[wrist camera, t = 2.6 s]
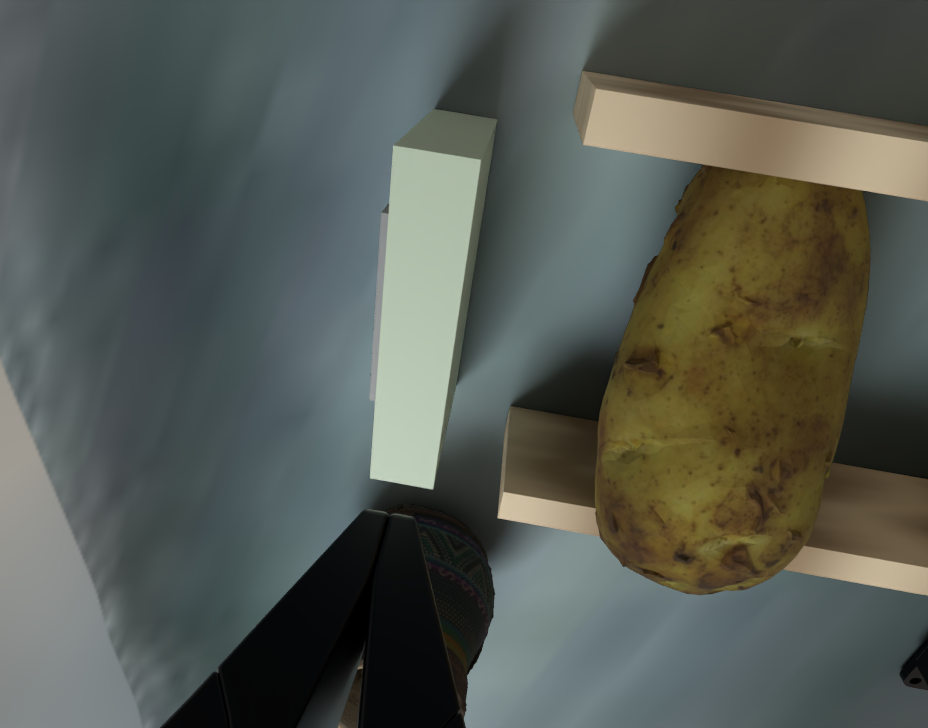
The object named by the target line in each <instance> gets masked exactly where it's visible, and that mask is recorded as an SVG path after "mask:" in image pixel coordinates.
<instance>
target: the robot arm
mask: <svg viewBox="0 0 928 728" xmlns="http://www.w3.org/2000/svg"><path fill="white" fill-rule="evenodd" d="M364 646H365V650H364ZM363 650H364V660H363V670H362V680H361V691H360V701H359V711H358V722H357V728H466V727H465V722H464V718H463V715H462V714H461V713H460V711H461V707H460V703H459V699H458V694H457V690H456V686H455V682H454V678H453V673H452V669H451V665H450V661H449V657H448V653H447V648H446V644H445V640H444V636H443V632H442V628H441V623H440V619H439V615H438V611H437V607H436V602H435V598H434V594H433V590H432V586H431V582H430V577H429V573H428V569H427V565H426V561H425V556H424V552H423V548H422V544H421V540H420V536H419V531H418V527H417V523H416V520H415V518H414V517H412V516H406V515H400V514H391V515H390V517H389V515H388V513H387V512H383V511H377V510H371V509H366V510H363V511H362V512H361V513H360V514H359V515H358V516H357V517H356V518H355V520H354V521H353V522H352V523H351V524H350V525H349V526H348V527H347V528H346V529H345V530H344V531H343V533H342V534H341V535H340V536H339V537H338V538H337V539H336V540H335V541H334V542H333V543H332V544H331V545H330V547H329V548H328V549H327V550H326V551H325V552H324V553H323V554H322V555H321V556H320V557H319V558H318V560H317V561H316V562H315V563H314V564H313V565H312V566H311V567H310V568H309V569H308V570H307V571H306V573H305V574H304V575H303V576H302V577H301V578H300V579H299V580H298V581H297V582H296V583H295V584H294V585H293V587H292V588H291V589H290V590H289V591H288V592H287V593H286V594H285V595H284V596H283V597H282V598H281V600H280V601H279V602H278V603H277V604H276V605H275V606H274V607H273V608H272V609H271V610H270V611H269V612H268V614H267V615H266V616H265V617H264V618H263V619H262V620H261V621H260V622H259V623H258V624H257V625H256V627H255V628H254V629H253V630H252V631H251V632H250V633H249V634H248V635H247V636H246V637H245V638H244V639H243V641H242V642H241V643H240V644H239V645H238V646H237V647H236V648H235V649H234V650H233V651H232V652H231V654H230V655H229V656H228V657H227V658H226V659H225V660H224V661H223V662H222V663H221V664H220V665H219V667H218V668H217V672H218V673H217V672H213V673H212V674H211V675H210V676H209V677H208V678H207V679H206V680H205V681H204V682H203V683H202V685H201V686H200V687H199V688H198V689H197V690H196V691H195V692H194V693H193V694H192V695H191V696H190V697H189V698H188V699H187V700H186V701H185V702H184V704H183V705H182V706H181V707H180V708H179V709H178V710H177V711H176V712H175V713H174V714H173V715H172V716H171V717H170V718H169V719H168V720H167V721H166V722H165V723H164V724H163V725H162V726H161V727H160V728H338V725H339V722H340V719H341V716H342V713H343V710H344V707H345V704H346V701H347V699H348V696H349V693H350V690H351V687H352V684H353V681H354V678H355V675H356V672H357V669H358V666H359V663H360V660H361V657H362V654H363ZM900 677H901V679H902V681H903V682H904V684H905V685H906V686H909V687H913V688H918V689H924V690H928V641H927V642H926V643H925V644H924V645H923V647H922V648H921V649H920V650H919V651H918V652H917V653H916V655H915V656H914V657H913V658H912V659H911V660H910V661H909V662H908V664H907V665H906V666H905V667H904V668H903V669H902V670H901V672H900Z"/></svg>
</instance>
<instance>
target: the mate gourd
mask: <svg viewBox="0 0 928 728" xmlns="http://www.w3.org/2000/svg"><path fill="white" fill-rule="evenodd" d="M386 512H387V513H388V515H389V517H390V515H391V514H400V515H406V516H412V517H414V518H415V520H416V523H417V527H418V531H419V536H420V540H421V544H422V548H423V552H424V556H425V561H426V565H427V569H428V573H429V577H430V582H431V586H432V590H433V594H434V598H435V602H436V607H437V611H438V615H439V619H440V623H441V628H442V632H443V636H444V640H445V644H446V648H447V653H448V657H449V661H450V665H451V669H452V673H453V678H454V682H455V686H456V690H457V694H458V699H459V703H460V707H461V711H460V713H461V714H462V715H463V718H464V716H465V711H466V695H467V688H468V686H467V685H468V682H467V681H468V680H467V675H468V674H469V672H470V670H471V669H472V668H473V666H474V664H475V663H476V662H477V659H478V658H479V655H480V653H481V651H482V647H483V643H484V640H485V638H486V636H487V634H488V628H489V626H490V623H491V620H492V618H493V616H494V615H493V613H494V612H493V608H494V595H495V592H494V588H493V581H492V574H491V568H490V566H489V565H488V560H487V555H486V551H485V549H484V547H483V545H482V544H481V542H480V541H479V540H478V538H477V537H476V536H475V535H474V534H473V533H472V532H471V531H470V530H469V529H468V528H466V527H465V526H464V525H463V524H462V523H460V522H459V521H457V520H456V518H455V519H454V518H453V517H451V516H449V515H447V514H444V513H442V512H439V511H435V510H431V509H427V508H422V507H418V506H415V505H414V504H413V506H408V505H405V504H404V506H403V505H400V506H397V507H394V508H392V509H389V510H388V511H386ZM364 650H365V646H364ZM364 650H363V654H362V657H361V660H360V663H359V666H358V669H357V672H356V675H355V678H354V681H353V684H352V687H351V690H350V693H349V696H348V699H347V701H346V704H345V707H344V710H343V713H342V716H341V719H340V722H339V725H338V728H357V722H358V711H359V701H360V691H361V680H362V670H363V660H364Z"/></svg>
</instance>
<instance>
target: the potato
mask: <svg viewBox="0 0 928 728" xmlns="http://www.w3.org/2000/svg"><path fill="white" fill-rule="evenodd" d="M675 210H676V212H677V213H678V214H677V217H676V219H675V220H674V222H673V223H672V224H671V226H670V228H669V230H668V232H667V234H666V236H665V238H664V244H663V247H662V249H661V251H660V253H659V255H658V256H655V257H654V258H653V259H652V261H651V262H650V263H649V264H648V265H647V268H646V270H645V273H644V276H643V279H642V282H641V285H640V288H639V290H638V292H637V294H636V296H635V298H634V300H633V302H634V309H633V312H632V315H631V317H630V320H629V323H628V325H627V328H626V330H625V333H624V336H623V338H622V341H621V344H620V347H619V350H618V351H617V352H616V355H615V363H614V366H613V369H612V372H611V375H610V379H609V382H608V385H607V388H606V391H605V394H604V397H603V401H602V405H601V409H600V414H599V423H598V448H597V463H596V473H595V507H596V512H595V515H596V523H597V526H598V529H599V535H600V538H601V540H602V541H603V542H604V543H605V544H606V545H607V547H608V548H609V550H610V551H611V552H612V554H613V555H614V556H615V557H616V558H617V559H618V560H619V561H620V563H621V564H622V566H623V567H625V566H626V567H627V568H629V569H631V570H632V571H634V572H636V573H638V574H640V575H642V576H644V577H646V578H648V579H650V580H652V581H654V582H656V583H658V584H661V585H663V586H666V587H669V588H672V589H674V590H677V591H680V592H683V593H686V594H695V595H704V594H714V593H717V592H721V591H725V590H729V591H735V590H746V589H748V588H751V587H753V586H755V585H758V584H760V583H762V582H764V581H766V580H768V579H770V578H772V577H773V576H775V575H776V574H777V573H778V572H780V571H781V570H782V569H784V568H785V567H786V566H787V565H788V564H789V563H790V562H791V561H792V560H793V559H794V558H795V557H796V556H797V555H798V553H799V552H800V551H801V549H802V548H803V547H804V545H805V544H806V543H807V541H808V539H809V537H810V535H811V533H812V531H813V528H814V525H815V522H816V519H817V517H818V513H819V509H820V505H821V500H822V492H823V485H824V479H826V478H828V476H829V475H830V468H831V465H832V462H833V459H834V455H835V452H836V449H837V445H838V442H839V438H840V434H841V431H842V426H843V422H844V417H845V412H846V406H847V401H848V395H849V389H850V384H851V380H852V374H853V369H854V363H855V359H856V357H857V352H858V346H859V342H860V336H861V331H862V326H863V321H864V315H865V310H866V305H867V297H868V288H869V275H870V251H871V248H870V236H869V226H868V219H867V212H866V205H865V200H864V196H863V192H862V190H856V189H850V188H844V187H838V186H832V185H826V184H820V183H814V182H808V181H802V180H795V179H789V178H783V177H777V176H771V175H765V174H759V173H753V172H747V171H741V170H734V169H728V168H722V167H716V166H710V165H704V164H703V166H702V168H701V169H700V170H699V171H698V173H697V174H696V175H695V177H694V178H693V180H692V181H691V183H690V184H689V185H687V186H686V188H685V190H684V193H683V197H682V199H681V200H679V202H678V205H677V206H675Z"/></svg>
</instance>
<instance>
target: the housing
mask: <svg viewBox="0 0 928 728" xmlns="http://www.w3.org/2000/svg"><path fill="white" fill-rule="evenodd" d="M573 116H574V119H575V122H576V125H577V128H578V131H579V134H580V137H581V140H582V143H583V145H588V146H594V147H600V148H606V149H612V150H619V151H625V152H631V153H637V154H643V155H649V156H655V157H661V158H667V159H673V160H680V161H686V162H692V163H698V164H704V165H710V166H716V167H722V168H728V169H734V170H741V171H747V172H753V173H759V174H765V175H771V176H777V177H783V178H789V179H795V180H802V181H808V182H814V183H820V184H826V185H832V186H838V187H844V188H850V189H856V190H863V191H869V192H875V193H881V194H887V195H893V196H899V197H905V198H911V199H917V200H924V201H928V126H924V125H918V124H911V123H905V122H899V121H893V120H887V119H880V118H874V117H868V116H862V115H855V114H849V113H843V112H837V111H831V110H824V109H818V108H812V107H806V106H800V105H793V104H787V103H781V102H775V101H768V100H762V99H756V98H750V97H744V96H737V95H731V94H725V93H719V92H712V91H706V90H700V89H694V88H688V87H681V86H675V85H669V84H663V83H657V82H650V81H644V80H638V79H632V78H625V77H619V76H613V75H607V74H601V73H594V72H588V71H582V74H581V79H580V83H579V88H578V92H577V97H576V102H575V106H574V111H573ZM598 423H599V421H593V420H587V419H581V418H576V417H570V416H564V415H559V414H553V413H547V412H542V411H536V410H530V409H524V408H519V407H513V406H510V408H509V413H508V418H507V422H506V427H505V435H504V447H503V459H502V471H501V483H500V495H499V507H498V518H500V519H506V520H511V521H517V522H522V523H528V524H533V525H539V526H545V527H550V528H556V529H561V530H567V531H572V532H578V533H583V534H589V535H595V536H600V535H599V529H598V526H597V523H596V515H595V512H596V507H595V473H596V463H597V448H598ZM783 570H789V571H794V572H800V573H805V574H811V575H817V576H822V577H828V578H833V579H839V580H844V581H850V582H855V583H861V584H866V585H872V586H878V587H883V588H889V589H894V590H900V591H905V592H911V593H916V594H922V595H928V479H924V478H918V477H912V476H906V475H901V474H895V473H889V472H884V471H878V470H872V469H867V468H861V467H855V466H849V465H844V464H838V463H832V465H831V468H830V475H829V476H828V478H826V479H824V485H823V492H822V500H821V505H820V509H819V513H818V517H817V519H816V522H815V525H814V528H813V531H812V533H811V535H810V537H809V539H808V541H807V543H806V544H805V545H804V547H803V548H802V549H801V551H800V552H799V553H798V555H797V556H796V557H795V558H794V559H793V560H792V561H791V562H790V563H789V564H788V565H787V566H786V567H785V568H784V569H783Z"/></svg>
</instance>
